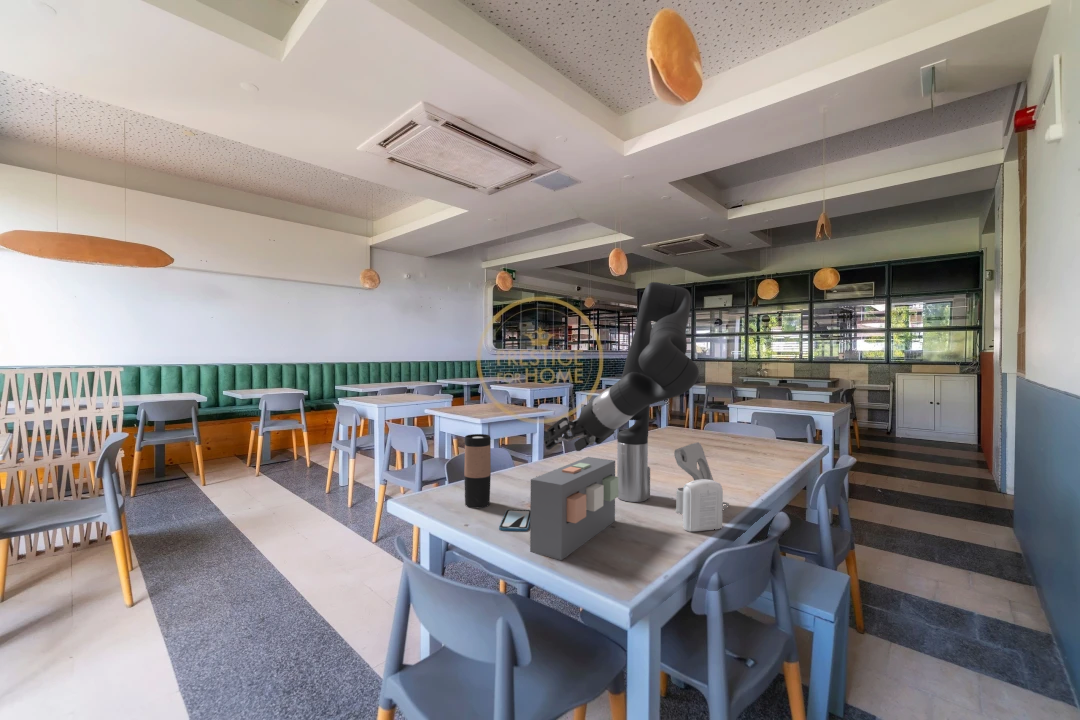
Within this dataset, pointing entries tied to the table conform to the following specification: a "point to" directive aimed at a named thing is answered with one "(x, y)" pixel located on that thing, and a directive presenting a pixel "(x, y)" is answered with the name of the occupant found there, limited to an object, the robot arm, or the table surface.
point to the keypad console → (551, 507)
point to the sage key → (610, 487)
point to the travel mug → (477, 470)
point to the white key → (594, 496)
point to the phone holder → (692, 468)
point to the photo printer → (702, 505)
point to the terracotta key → (576, 507)
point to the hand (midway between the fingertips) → (561, 446)
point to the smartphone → (515, 520)
